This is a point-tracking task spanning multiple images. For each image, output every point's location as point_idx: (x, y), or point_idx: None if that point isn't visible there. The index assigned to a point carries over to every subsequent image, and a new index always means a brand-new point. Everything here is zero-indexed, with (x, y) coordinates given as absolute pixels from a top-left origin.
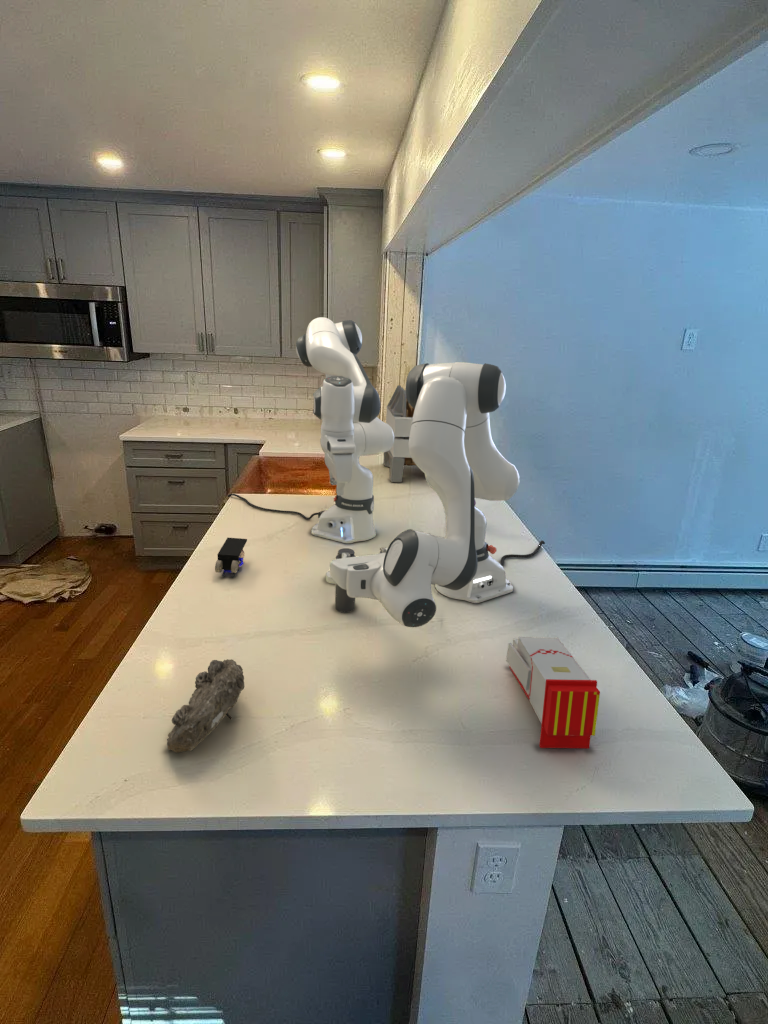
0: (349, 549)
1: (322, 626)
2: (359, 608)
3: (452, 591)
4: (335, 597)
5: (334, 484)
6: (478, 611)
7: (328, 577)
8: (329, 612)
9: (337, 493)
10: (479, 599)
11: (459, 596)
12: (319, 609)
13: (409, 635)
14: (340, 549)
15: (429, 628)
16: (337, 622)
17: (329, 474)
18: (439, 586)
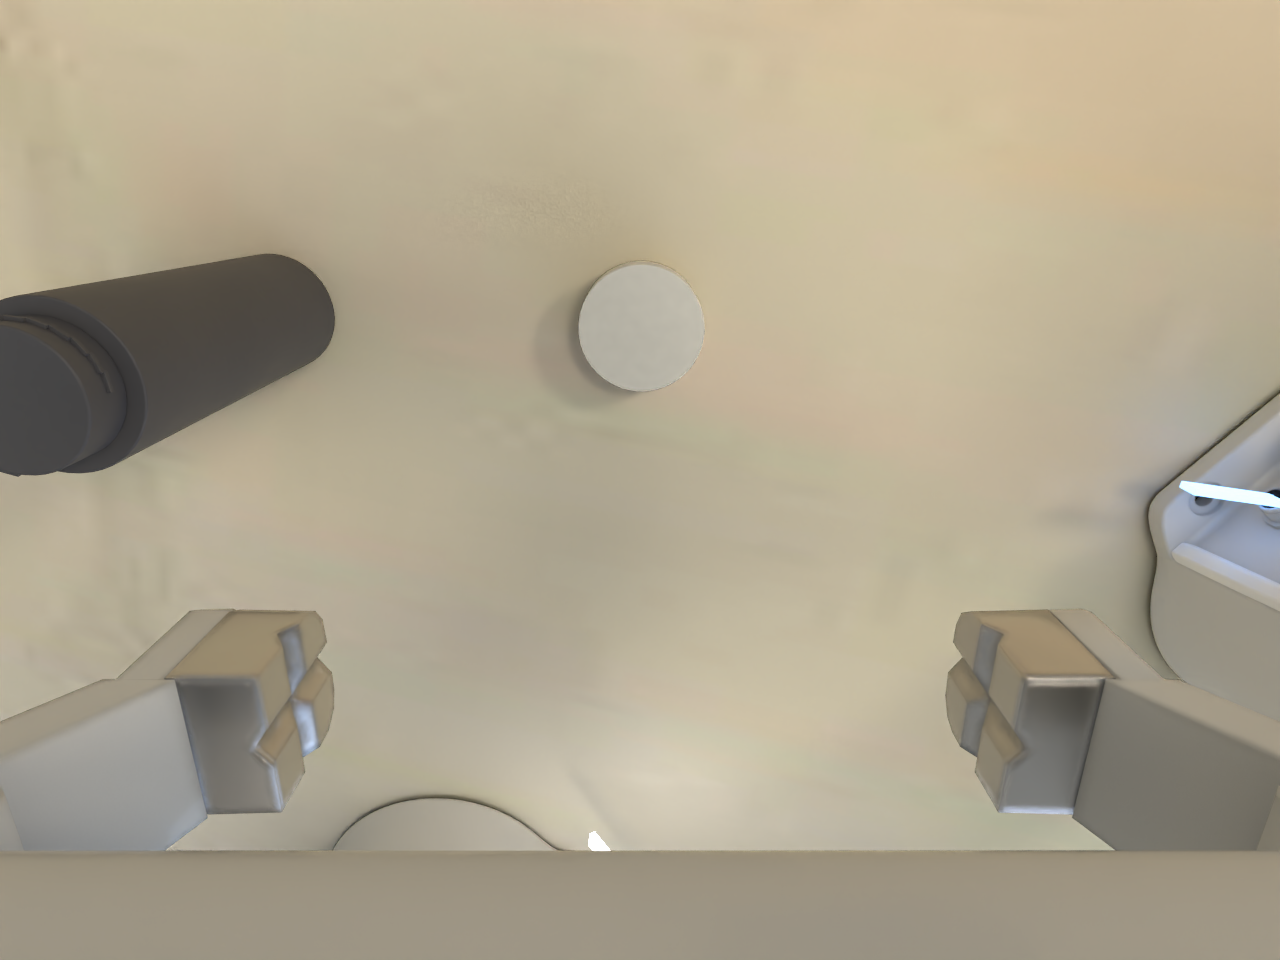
0: (58, 441)
1: (62, 138)
2: (269, 391)
3: None
4: (234, 260)
5: (956, 673)
6: None
7: (605, 275)
8: (225, 210)
9: (178, 629)
10: None
11: None
12: (263, 153)
13: (3, 565)
14: (52, 357)
15: (73, 663)
16: (111, 237)
17: (1261, 720)
18: (414, 822)
